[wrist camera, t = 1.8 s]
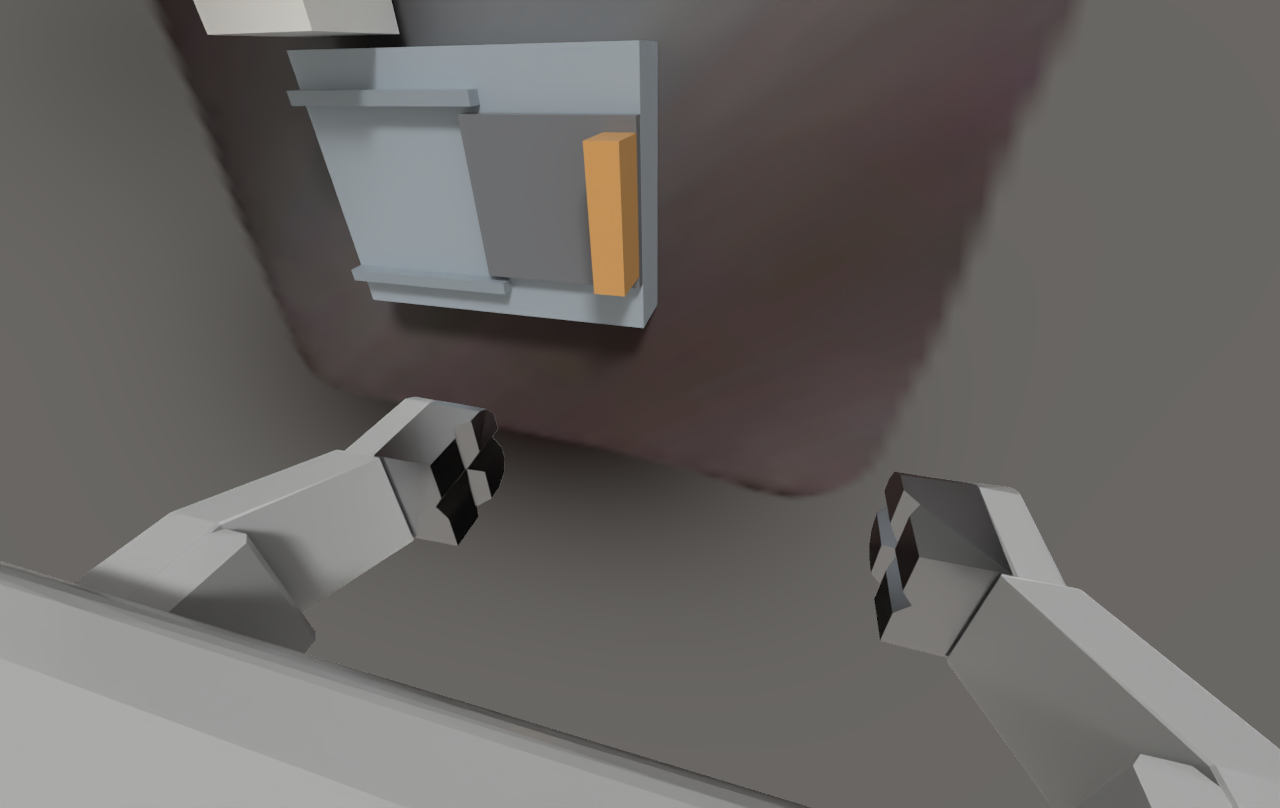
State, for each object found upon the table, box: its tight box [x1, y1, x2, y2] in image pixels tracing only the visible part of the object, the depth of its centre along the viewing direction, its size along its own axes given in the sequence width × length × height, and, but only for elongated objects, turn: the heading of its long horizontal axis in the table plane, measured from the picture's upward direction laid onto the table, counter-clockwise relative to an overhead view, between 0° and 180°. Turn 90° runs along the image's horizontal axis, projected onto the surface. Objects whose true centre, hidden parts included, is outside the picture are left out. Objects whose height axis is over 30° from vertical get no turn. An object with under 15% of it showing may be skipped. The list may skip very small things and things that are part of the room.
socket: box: [287, 40, 658, 328], centre depth 25 cm, size 12×16×4 cm
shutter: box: [457, 113, 643, 297], centre depth 22 cm, size 7×8×3 cm
